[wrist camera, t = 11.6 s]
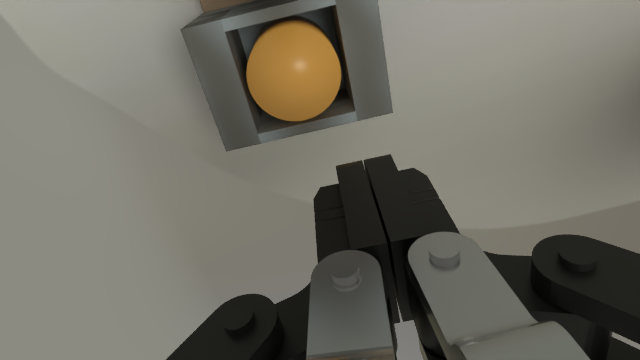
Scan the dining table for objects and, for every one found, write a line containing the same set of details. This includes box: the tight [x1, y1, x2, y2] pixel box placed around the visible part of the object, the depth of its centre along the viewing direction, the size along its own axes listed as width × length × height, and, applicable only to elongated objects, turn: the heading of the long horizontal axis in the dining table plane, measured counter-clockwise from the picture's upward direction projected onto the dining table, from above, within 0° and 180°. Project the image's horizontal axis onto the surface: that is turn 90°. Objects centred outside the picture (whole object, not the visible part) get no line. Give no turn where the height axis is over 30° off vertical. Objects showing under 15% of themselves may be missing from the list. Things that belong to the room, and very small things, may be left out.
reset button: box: [246, 15, 341, 121], centre depth 23 cm, size 5×5×4 cm
